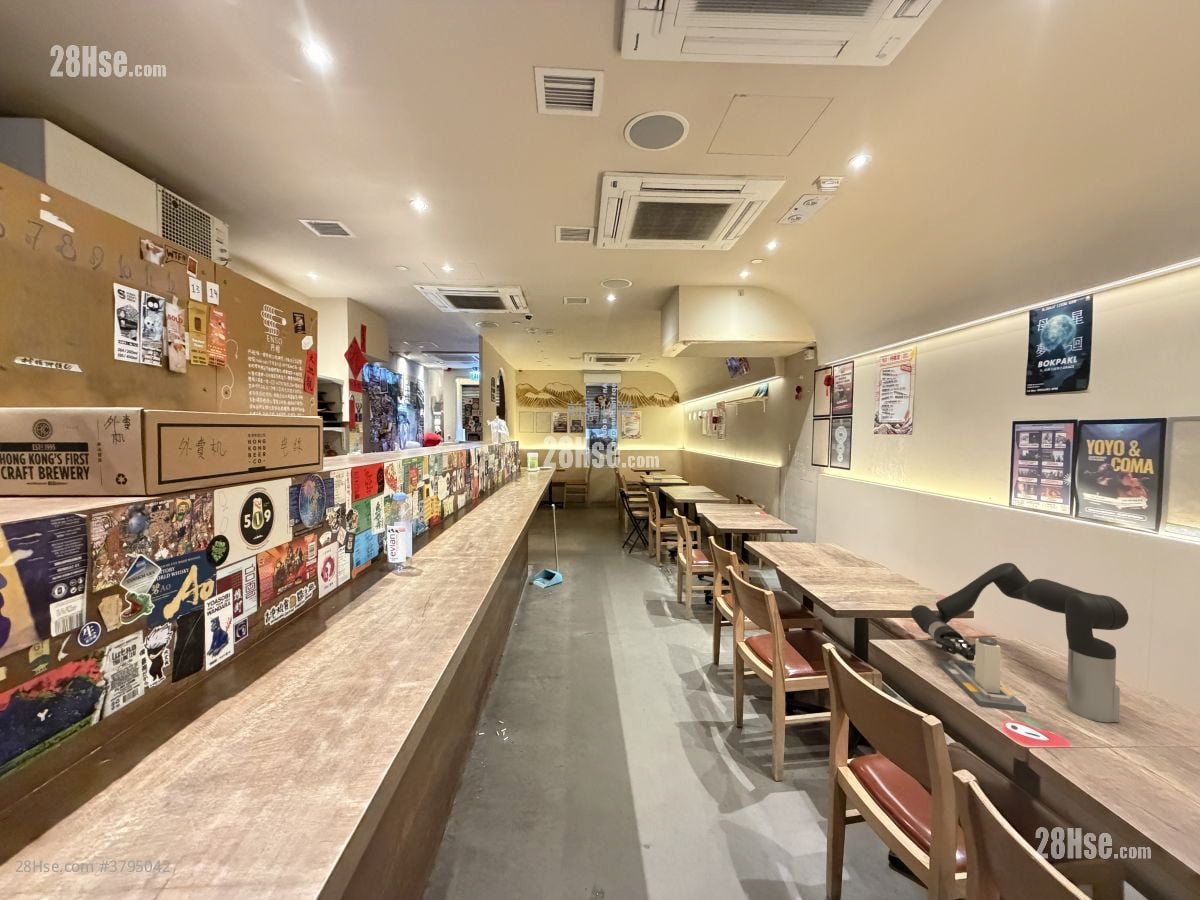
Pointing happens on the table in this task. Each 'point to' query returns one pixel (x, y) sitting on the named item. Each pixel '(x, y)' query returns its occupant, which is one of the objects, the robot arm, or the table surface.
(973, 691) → the switch panel
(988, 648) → the slider knob
